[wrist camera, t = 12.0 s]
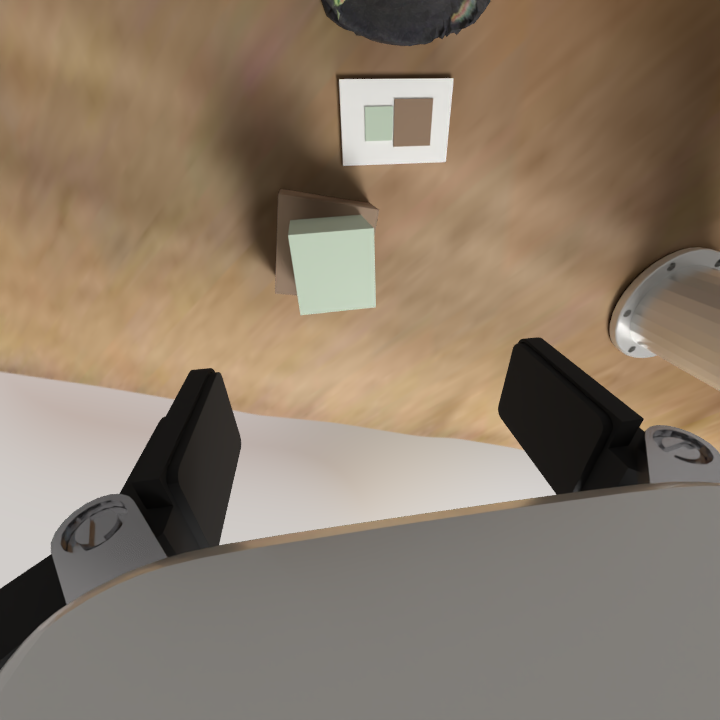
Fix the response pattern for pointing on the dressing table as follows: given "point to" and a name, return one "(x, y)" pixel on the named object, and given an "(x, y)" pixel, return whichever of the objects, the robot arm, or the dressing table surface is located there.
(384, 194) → the dressing table surface
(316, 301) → the sage cube
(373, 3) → the figurine
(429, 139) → the tile
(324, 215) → the walnut base
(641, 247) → the dressing table surface
